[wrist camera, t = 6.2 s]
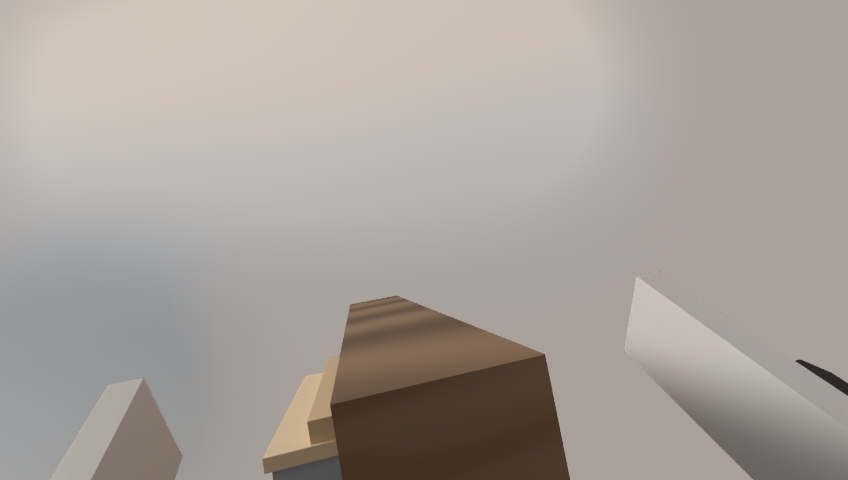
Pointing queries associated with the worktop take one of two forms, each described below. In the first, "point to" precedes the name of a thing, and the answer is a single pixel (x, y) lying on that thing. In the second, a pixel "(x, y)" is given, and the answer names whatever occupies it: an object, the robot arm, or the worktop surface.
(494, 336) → the walnut block
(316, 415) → the pillar
